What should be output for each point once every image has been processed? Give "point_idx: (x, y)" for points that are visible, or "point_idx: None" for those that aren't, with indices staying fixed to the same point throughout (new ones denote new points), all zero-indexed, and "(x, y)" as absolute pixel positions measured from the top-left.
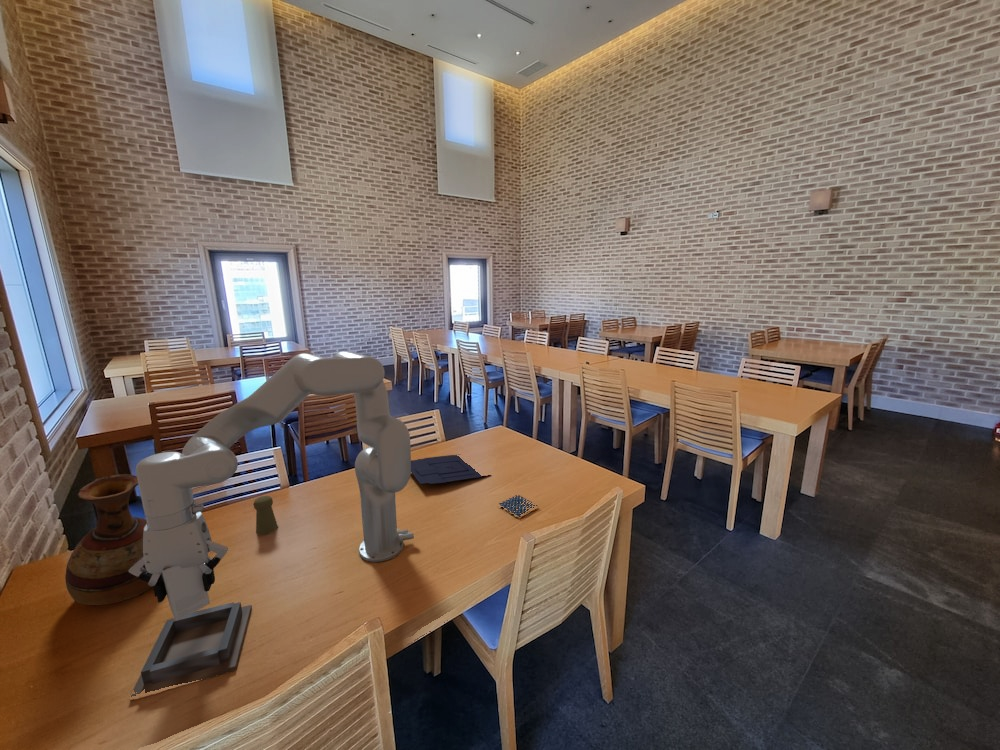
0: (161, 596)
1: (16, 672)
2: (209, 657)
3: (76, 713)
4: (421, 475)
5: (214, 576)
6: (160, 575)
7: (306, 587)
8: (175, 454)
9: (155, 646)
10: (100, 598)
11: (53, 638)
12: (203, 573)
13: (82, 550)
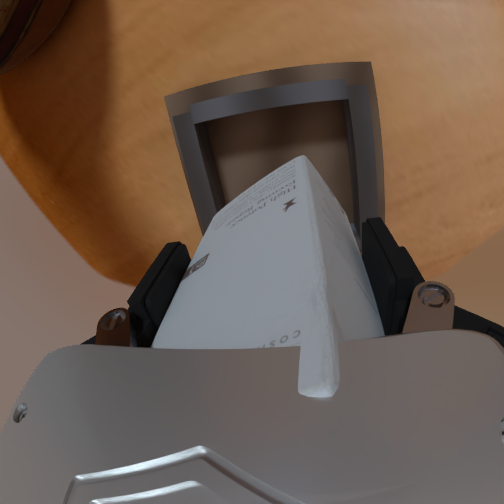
0: None
1: (20, 177)
2: None
3: (146, 260)
4: None
5: (408, 257)
6: (141, 342)
7: (473, 47)
8: None
9: (200, 203)
10: (10, 67)
11: (13, 119)
12: (384, 332)
13: None
